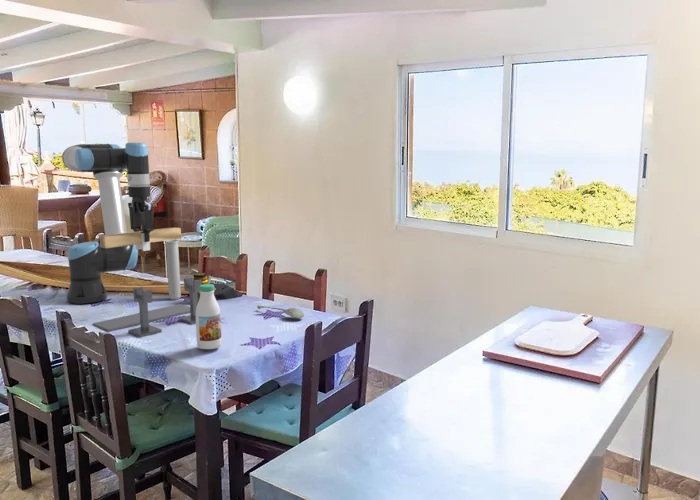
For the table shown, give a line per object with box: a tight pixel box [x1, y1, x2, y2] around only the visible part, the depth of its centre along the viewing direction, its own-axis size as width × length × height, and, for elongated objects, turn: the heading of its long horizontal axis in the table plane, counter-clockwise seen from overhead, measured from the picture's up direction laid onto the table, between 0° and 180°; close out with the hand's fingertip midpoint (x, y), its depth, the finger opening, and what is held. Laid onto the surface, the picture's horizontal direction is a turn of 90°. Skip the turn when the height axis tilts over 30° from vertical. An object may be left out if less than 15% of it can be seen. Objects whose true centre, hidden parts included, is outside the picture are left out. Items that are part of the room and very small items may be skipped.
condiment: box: [186, 272, 209, 306], centre depth 247 cm, size 7×8×12 cm
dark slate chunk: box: [208, 282, 243, 302], centre depth 262 cm, size 15×22×5 cm
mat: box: [92, 303, 190, 333], centre depth 226 cm, size 12×36×1 cm, turn 138°
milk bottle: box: [195, 283, 222, 350], centre depth 192 cm, size 8×8×20 cm
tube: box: [165, 239, 182, 301], centre depth 251 cm, size 5×5×25 cm
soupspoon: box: [256, 304, 305, 319], centre depth 232 cm, size 22×3×7 cm
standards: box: [127, 277, 202, 338], centre depth 214 cm, size 8×28×15 cm, turn 138°
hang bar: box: [99, 227, 182, 248], centre depth 221 cm, size 4×30×4 cm, turn 138°
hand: (143, 249), depth 222 cm, fingers closed on hang bar, 4 cm apart
